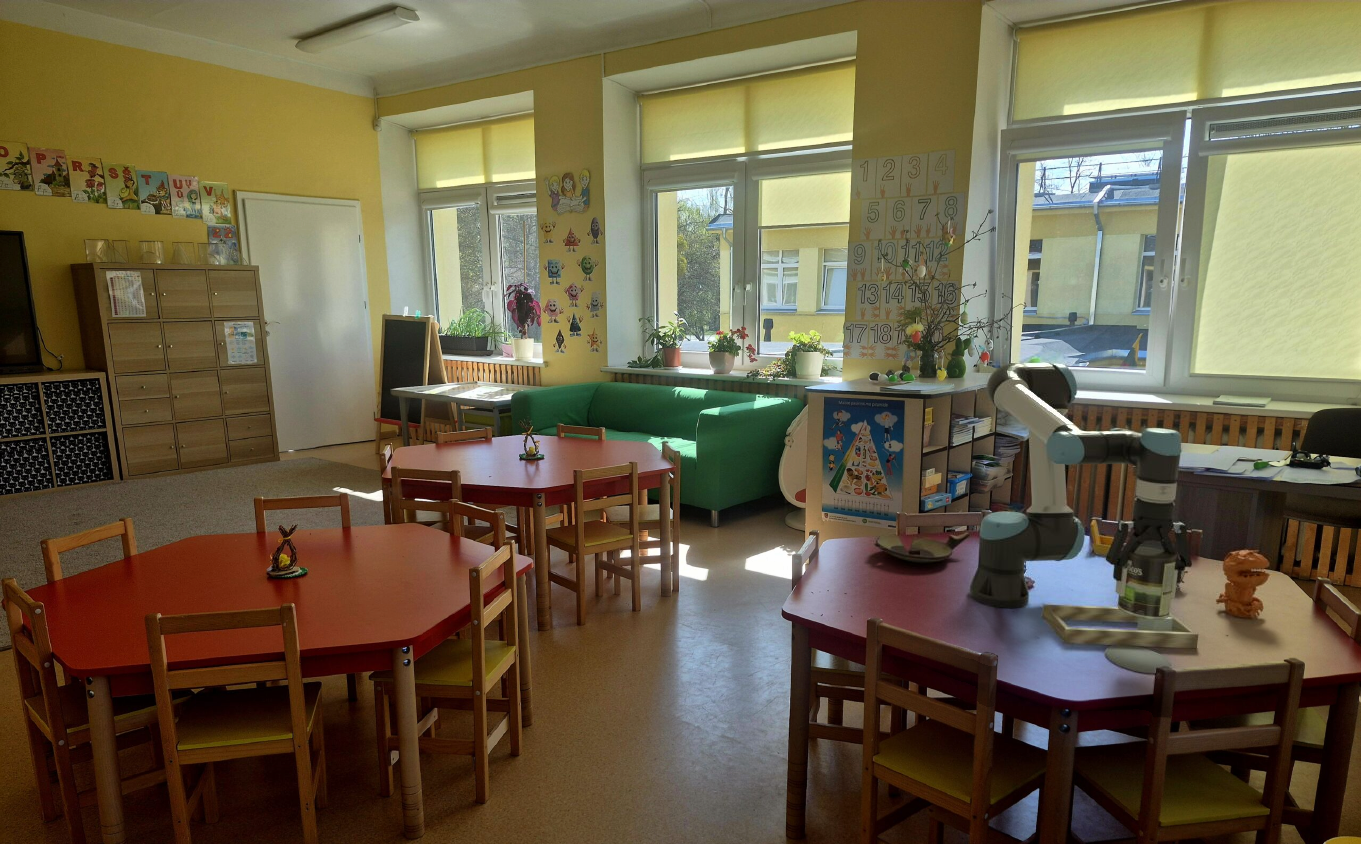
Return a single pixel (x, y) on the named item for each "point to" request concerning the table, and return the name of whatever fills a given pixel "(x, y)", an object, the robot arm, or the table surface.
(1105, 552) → the yellow toy chair
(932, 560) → the oil lamp
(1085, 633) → the frame
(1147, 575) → the coffee can
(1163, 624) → the pale green cube
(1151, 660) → the trivet
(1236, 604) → the toy dinosaur
